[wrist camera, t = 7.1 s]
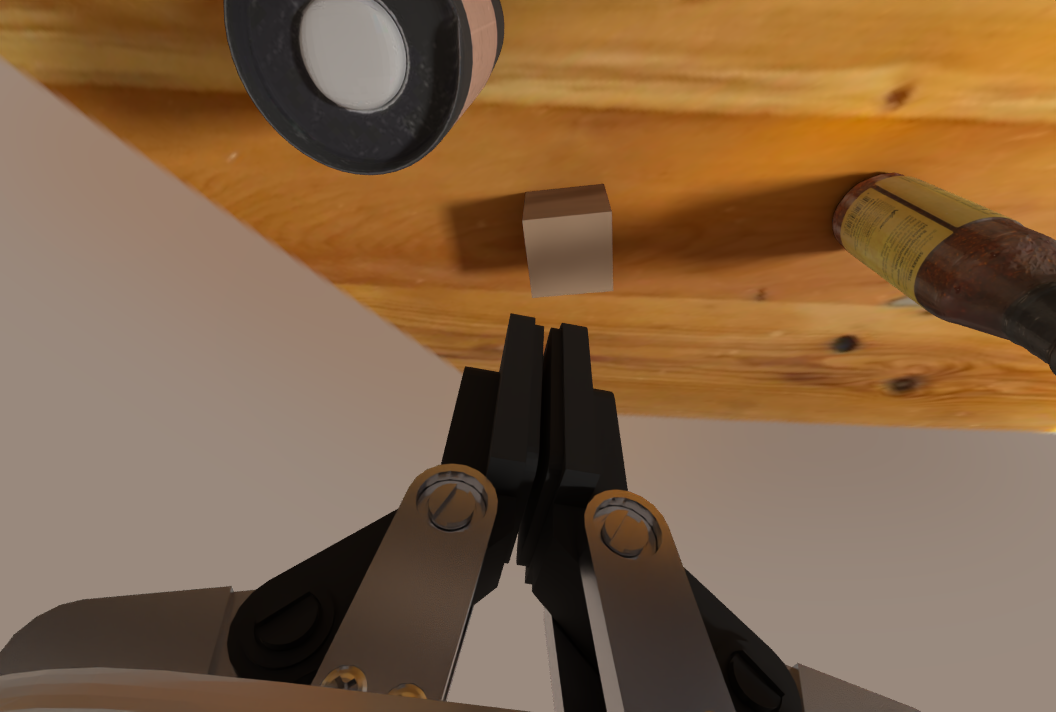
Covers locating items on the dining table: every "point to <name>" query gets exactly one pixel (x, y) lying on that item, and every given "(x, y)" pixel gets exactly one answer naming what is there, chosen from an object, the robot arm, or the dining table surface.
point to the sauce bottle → (955, 258)
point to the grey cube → (568, 240)
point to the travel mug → (364, 73)
